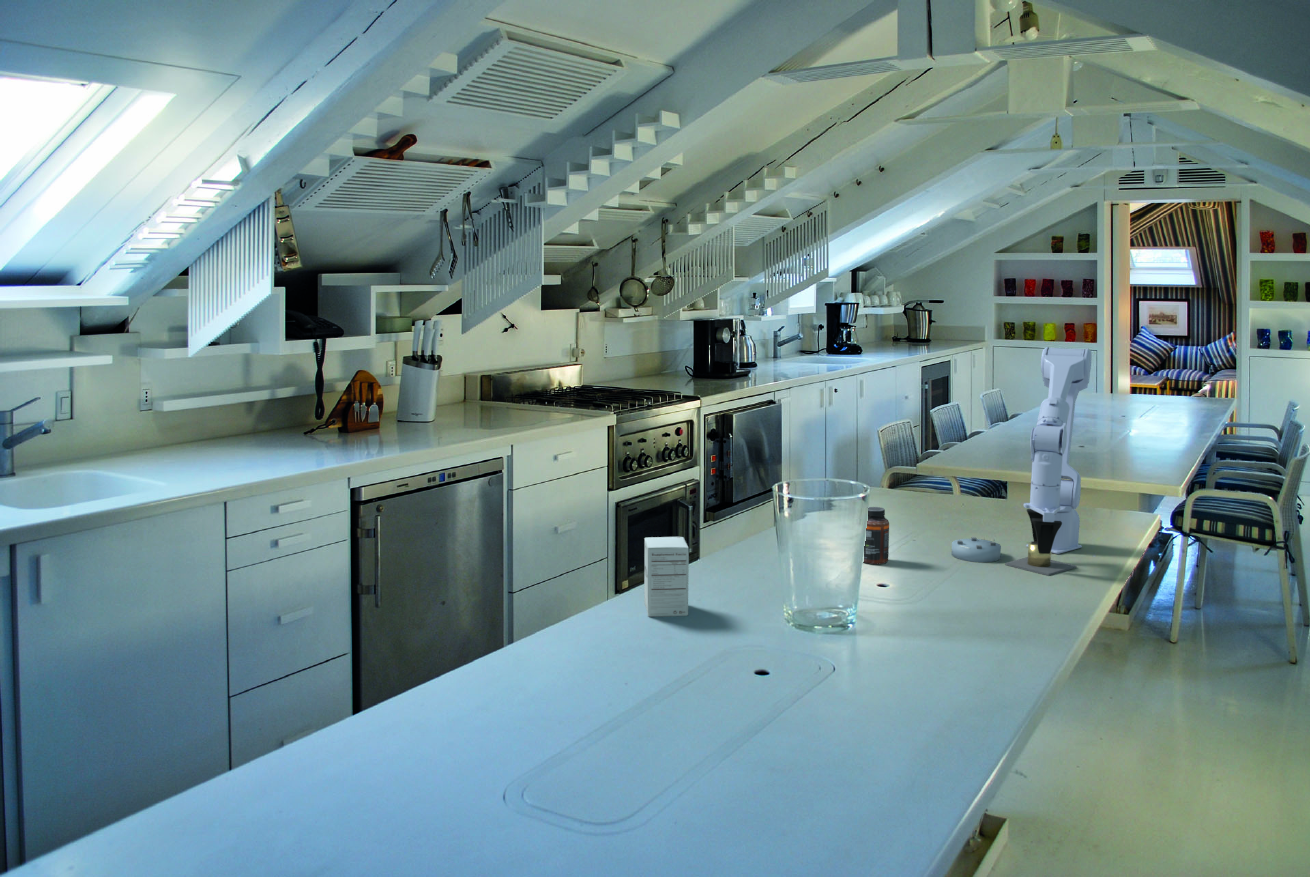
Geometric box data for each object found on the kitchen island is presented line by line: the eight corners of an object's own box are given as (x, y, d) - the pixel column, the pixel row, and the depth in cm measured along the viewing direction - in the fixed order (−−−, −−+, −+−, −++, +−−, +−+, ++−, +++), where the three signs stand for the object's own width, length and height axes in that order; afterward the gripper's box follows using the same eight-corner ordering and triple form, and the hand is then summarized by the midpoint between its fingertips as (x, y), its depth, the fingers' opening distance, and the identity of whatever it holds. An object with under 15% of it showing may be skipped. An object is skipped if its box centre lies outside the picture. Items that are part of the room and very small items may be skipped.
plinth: (970, 547, 233) (971, 533, 233) (1009, 557, 225) (1010, 543, 225) (941, 554, 227) (942, 540, 227) (981, 564, 219) (981, 550, 219)
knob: (1050, 562, 220) (1051, 540, 219) (1050, 567, 216) (1052, 545, 215) (1027, 560, 221) (1028, 538, 221) (1027, 566, 217) (1028, 544, 216)
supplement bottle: (886, 558, 224) (888, 505, 223) (889, 565, 218) (892, 512, 217) (857, 557, 225) (859, 505, 223) (860, 564, 219) (862, 511, 217)
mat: (1033, 557, 225) (1033, 555, 225) (1076, 567, 218) (1076, 565, 217) (1005, 564, 219) (1005, 562, 219) (1048, 575, 212) (1048, 573, 212)
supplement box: (643, 604, 192) (643, 536, 190) (684, 603, 193) (684, 535, 191) (646, 617, 185) (646, 547, 183) (688, 616, 186) (689, 546, 184)
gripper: (1021, 476, 224) (1017, 538, 226) (1029, 489, 210) (1025, 556, 212) (1056, 477, 222) (1052, 540, 224) (1067, 491, 208) (1062, 558, 210)
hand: (1041, 548), depth 218 cm, fingers open, 7 cm apart
